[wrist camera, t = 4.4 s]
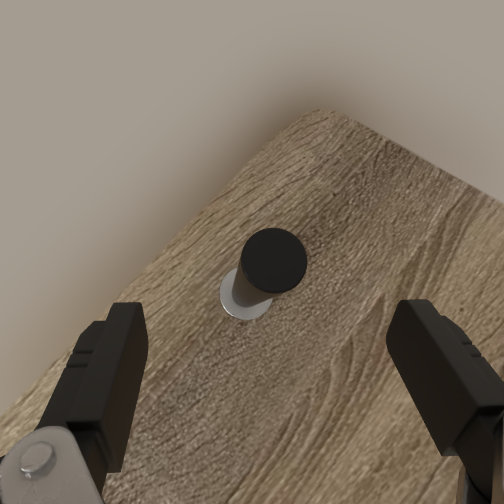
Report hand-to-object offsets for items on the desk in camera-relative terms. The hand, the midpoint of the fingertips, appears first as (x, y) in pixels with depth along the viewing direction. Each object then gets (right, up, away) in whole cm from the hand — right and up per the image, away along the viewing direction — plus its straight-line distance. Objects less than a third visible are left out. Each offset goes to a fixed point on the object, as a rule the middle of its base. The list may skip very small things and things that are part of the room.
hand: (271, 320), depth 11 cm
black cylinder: (-1, -1, +13) cm, 13 cm away
